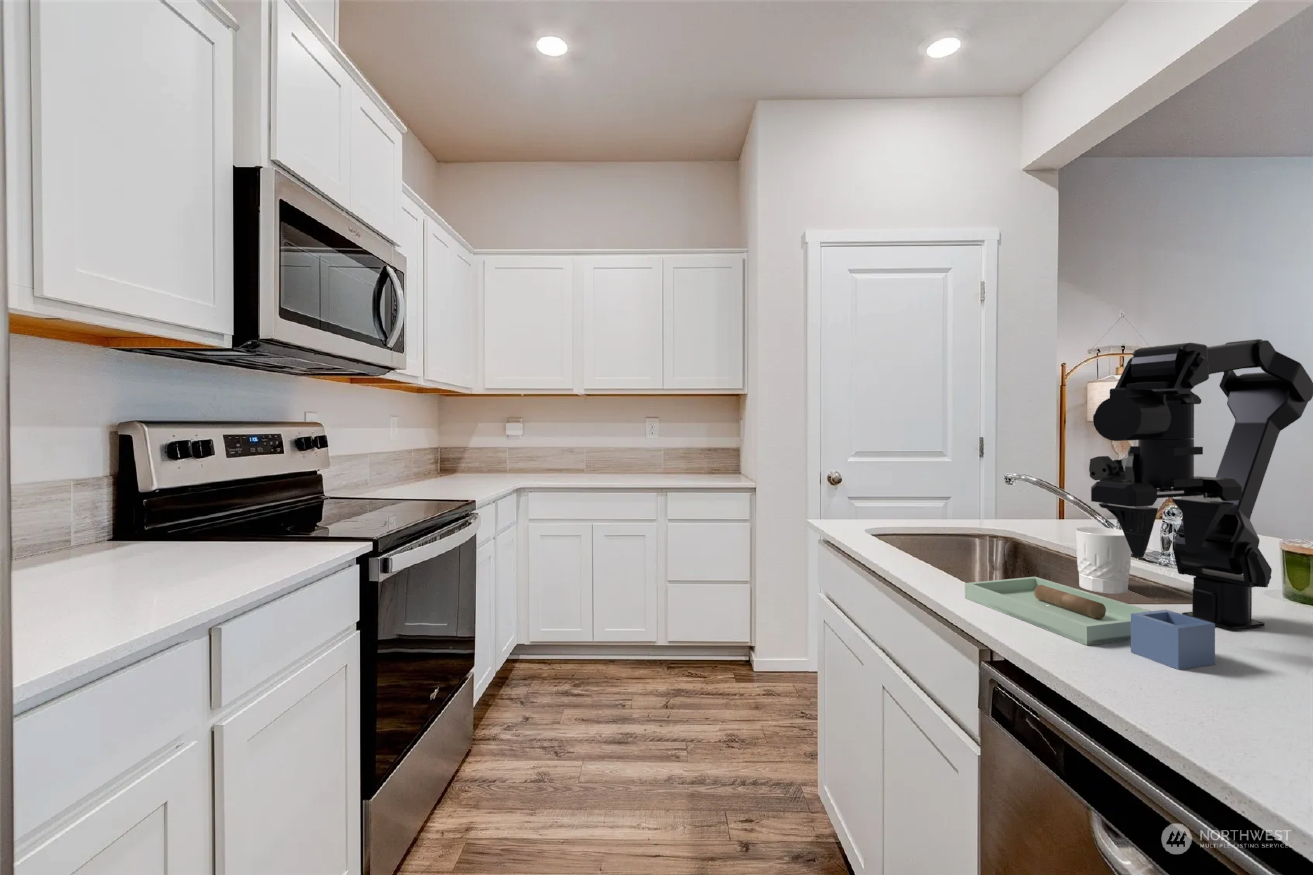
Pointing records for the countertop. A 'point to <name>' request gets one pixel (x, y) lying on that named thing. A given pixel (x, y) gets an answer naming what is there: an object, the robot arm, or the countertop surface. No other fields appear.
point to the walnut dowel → (1070, 602)
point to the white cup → (1103, 559)
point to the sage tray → (1055, 609)
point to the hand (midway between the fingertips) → (1165, 554)
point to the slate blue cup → (1173, 639)
